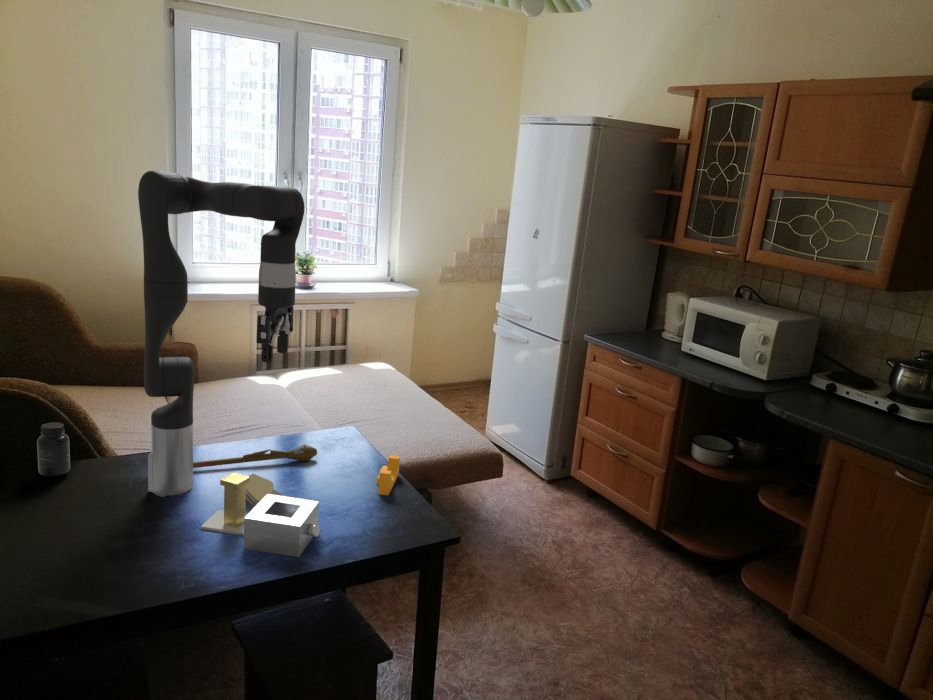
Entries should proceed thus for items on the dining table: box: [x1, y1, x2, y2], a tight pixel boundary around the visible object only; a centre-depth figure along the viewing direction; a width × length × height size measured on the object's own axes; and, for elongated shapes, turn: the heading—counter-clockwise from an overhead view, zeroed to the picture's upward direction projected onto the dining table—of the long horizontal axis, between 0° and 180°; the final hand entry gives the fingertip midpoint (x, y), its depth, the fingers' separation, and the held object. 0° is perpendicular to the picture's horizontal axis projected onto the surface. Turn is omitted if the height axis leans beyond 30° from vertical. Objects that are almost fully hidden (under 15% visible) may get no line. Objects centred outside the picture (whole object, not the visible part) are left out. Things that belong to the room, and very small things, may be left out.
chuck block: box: [243, 494, 321, 558], centre depth 153 cm, size 14×12×7 cm
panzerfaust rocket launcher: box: [193, 444, 318, 469], centre depth 189 cm, size 5×35×5 cm, turn 113°
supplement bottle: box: [36, 421, 71, 477], centre depth 174 cm, size 7×7×12 cm
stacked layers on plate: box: [245, 473, 285, 507], centre depth 169 cm, size 10×9×6 cm
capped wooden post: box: [219, 472, 250, 528], centre depth 157 cm, size 4×4×11 cm
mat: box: [200, 509, 248, 537], centre depth 158 cm, size 10×8×1 cm
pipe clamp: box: [376, 454, 401, 496], centre depth 184 cm, size 12×4×6 cm, turn 173°
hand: (274, 357), depth 153 cm, fingers open, 8 cm apart
